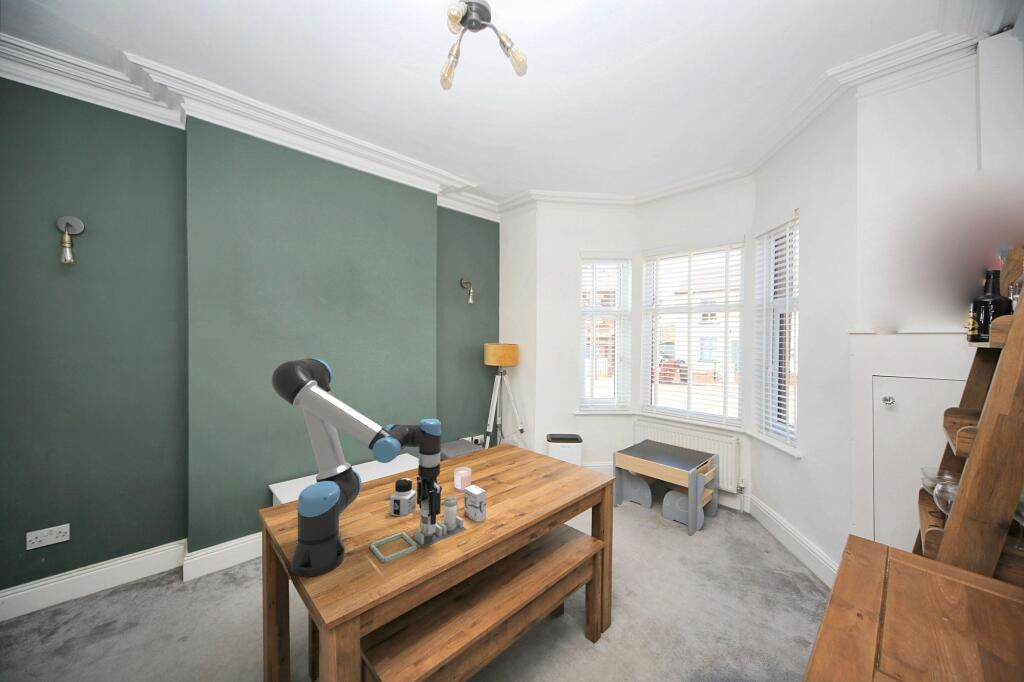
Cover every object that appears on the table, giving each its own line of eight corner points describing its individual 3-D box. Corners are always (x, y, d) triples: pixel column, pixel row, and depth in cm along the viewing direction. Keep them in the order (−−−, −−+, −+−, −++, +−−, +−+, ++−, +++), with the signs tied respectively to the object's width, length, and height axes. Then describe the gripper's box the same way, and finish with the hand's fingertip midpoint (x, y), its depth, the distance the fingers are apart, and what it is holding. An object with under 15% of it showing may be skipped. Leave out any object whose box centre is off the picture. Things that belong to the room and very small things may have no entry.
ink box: (463, 516, 147) (463, 487, 147) (472, 512, 151) (473, 483, 151) (476, 525, 141) (477, 494, 141) (486, 520, 145) (487, 490, 145)
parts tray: (383, 566, 116) (383, 559, 115) (369, 550, 124) (369, 544, 124) (418, 551, 124) (418, 545, 124) (403, 537, 132) (403, 531, 132)
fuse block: (423, 550, 124) (423, 538, 124) (410, 539, 131) (410, 528, 131) (467, 532, 136) (467, 521, 136) (453, 522, 143) (453, 512, 143)
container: (407, 517, 146) (408, 485, 146) (389, 515, 147) (390, 483, 147) (416, 508, 153) (416, 477, 153) (399, 506, 155) (399, 475, 155)
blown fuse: (424, 537, 127) (425, 506, 127) (417, 532, 131) (418, 501, 130) (436, 533, 130) (437, 502, 130) (430, 527, 134) (430, 497, 134)
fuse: (447, 533, 133) (448, 503, 133) (440, 528, 137) (441, 498, 137) (459, 528, 136) (459, 499, 136) (451, 523, 140) (452, 495, 140)
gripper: (452, 468, 126) (450, 536, 126) (426, 454, 139) (424, 516, 140) (433, 474, 121) (430, 544, 121) (407, 458, 134) (406, 522, 135)
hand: (427, 529), depth 130 cm, fingers closed on blown fuse, 5 cm apart
